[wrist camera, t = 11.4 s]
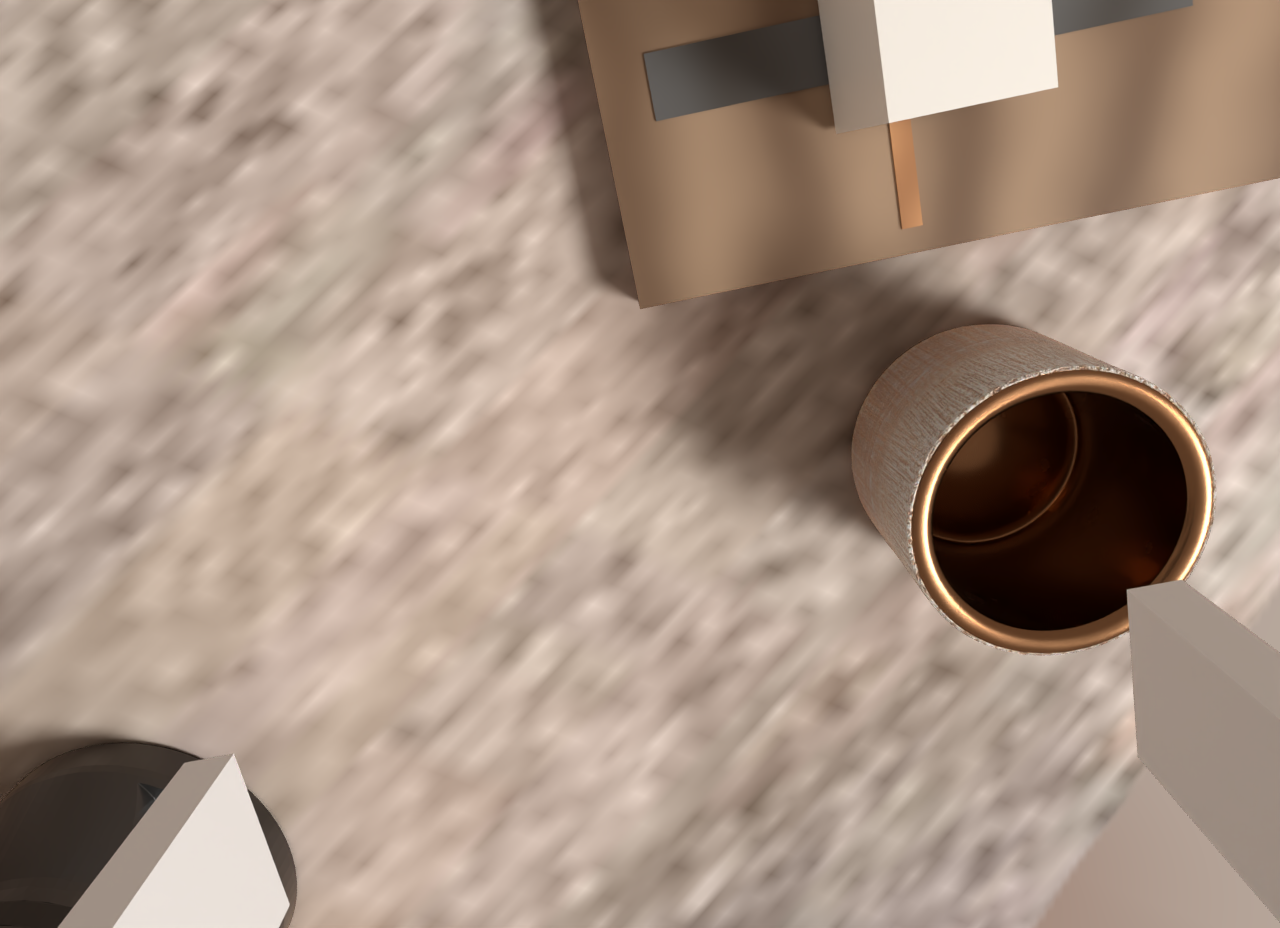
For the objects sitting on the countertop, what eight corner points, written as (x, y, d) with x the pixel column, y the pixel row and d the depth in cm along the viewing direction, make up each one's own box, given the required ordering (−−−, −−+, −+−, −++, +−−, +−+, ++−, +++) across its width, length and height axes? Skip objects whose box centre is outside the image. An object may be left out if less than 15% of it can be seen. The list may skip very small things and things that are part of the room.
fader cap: (836, 133, 36) (888, 123, 29) (812, -40, 35) (861, -100, 27) (969, 105, 36) (1058, 87, 29) (951, -71, 35) (1040, -141, 27)
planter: (837, 556, 44) (889, 657, 35) (858, 317, 41) (921, 359, 32) (1074, 561, 44) (1189, 662, 35) (1113, 323, 41) (1250, 366, 32)
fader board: (640, 302, 41) (640, 309, 39) (554, -120, 36) (549, -139, 34) (1268, 173, 39) (1305, 173, 37) (1259, -283, 35) (1301, -313, 33)
